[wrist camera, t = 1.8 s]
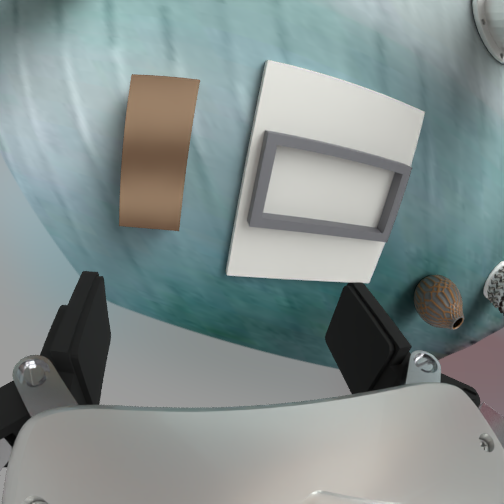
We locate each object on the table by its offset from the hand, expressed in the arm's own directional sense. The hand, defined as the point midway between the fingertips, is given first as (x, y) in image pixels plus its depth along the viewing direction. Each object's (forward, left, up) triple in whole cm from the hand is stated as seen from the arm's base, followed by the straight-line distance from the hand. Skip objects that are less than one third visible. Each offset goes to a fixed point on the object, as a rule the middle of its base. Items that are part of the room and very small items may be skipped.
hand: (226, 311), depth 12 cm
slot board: (0, +13, -20) cm, 24 cm away
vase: (+12, +34, -20) cm, 41 cm away
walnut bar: (-2, -4, -20) cm, 21 cm away
